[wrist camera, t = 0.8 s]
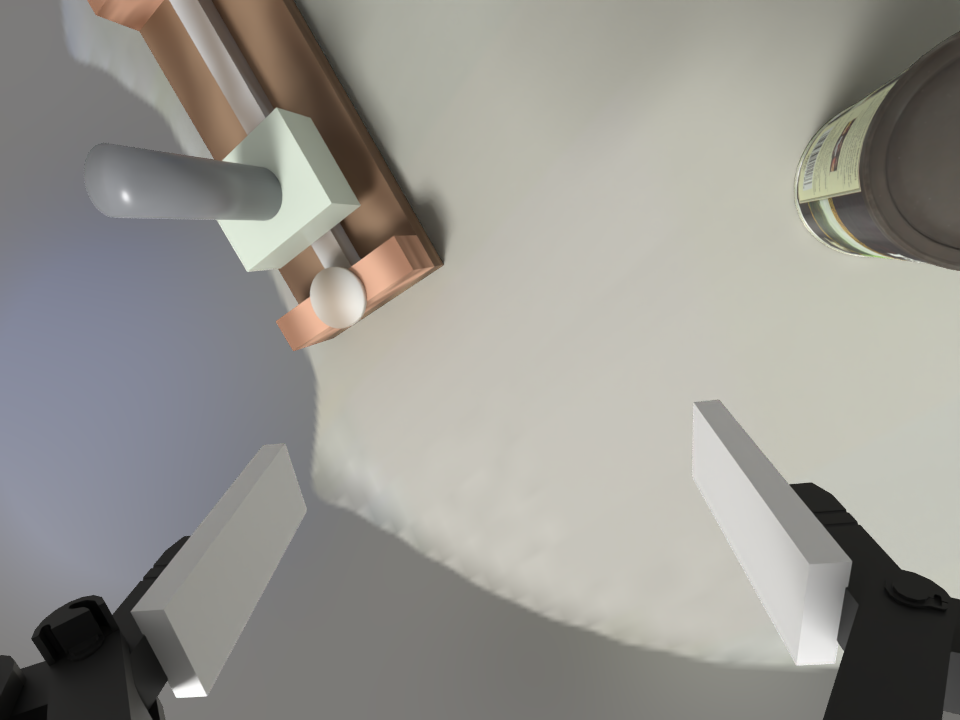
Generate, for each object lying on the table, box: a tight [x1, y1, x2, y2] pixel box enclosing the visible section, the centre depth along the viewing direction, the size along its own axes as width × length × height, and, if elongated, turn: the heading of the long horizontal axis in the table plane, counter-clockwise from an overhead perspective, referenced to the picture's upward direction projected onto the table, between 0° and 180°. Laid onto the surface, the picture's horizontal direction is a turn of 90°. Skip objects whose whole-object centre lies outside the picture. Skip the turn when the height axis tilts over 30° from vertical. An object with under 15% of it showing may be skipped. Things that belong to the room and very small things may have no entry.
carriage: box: [84, 107, 361, 272], centre depth 37 cm, size 10×8×16 cm
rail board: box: [87, 0, 444, 351], centre depth 45 cm, size 14×38×7 cm, turn 32°
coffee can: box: [794, 31, 960, 271], centre depth 28 cm, size 10×10×14 cm
